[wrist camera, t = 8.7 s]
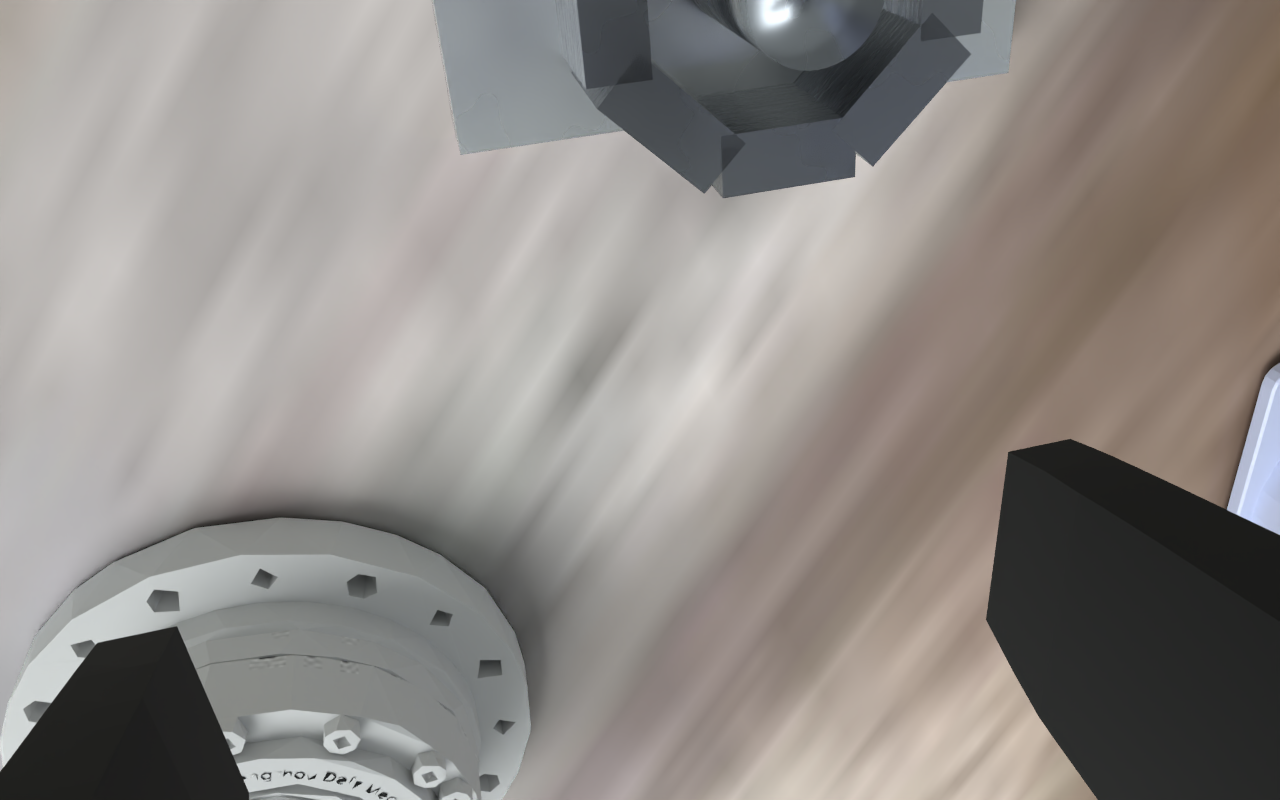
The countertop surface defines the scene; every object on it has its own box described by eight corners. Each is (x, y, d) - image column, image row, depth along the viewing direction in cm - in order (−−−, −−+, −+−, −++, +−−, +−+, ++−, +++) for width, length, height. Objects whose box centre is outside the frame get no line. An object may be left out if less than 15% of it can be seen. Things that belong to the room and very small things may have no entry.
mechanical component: (412, 431, 19) (-98, 628, 19) (424, 585, 16) (-208, 834, 15) (581, 751, 25) (188, 909, 24) (620, 921, 21) (158, 1110, 21)
